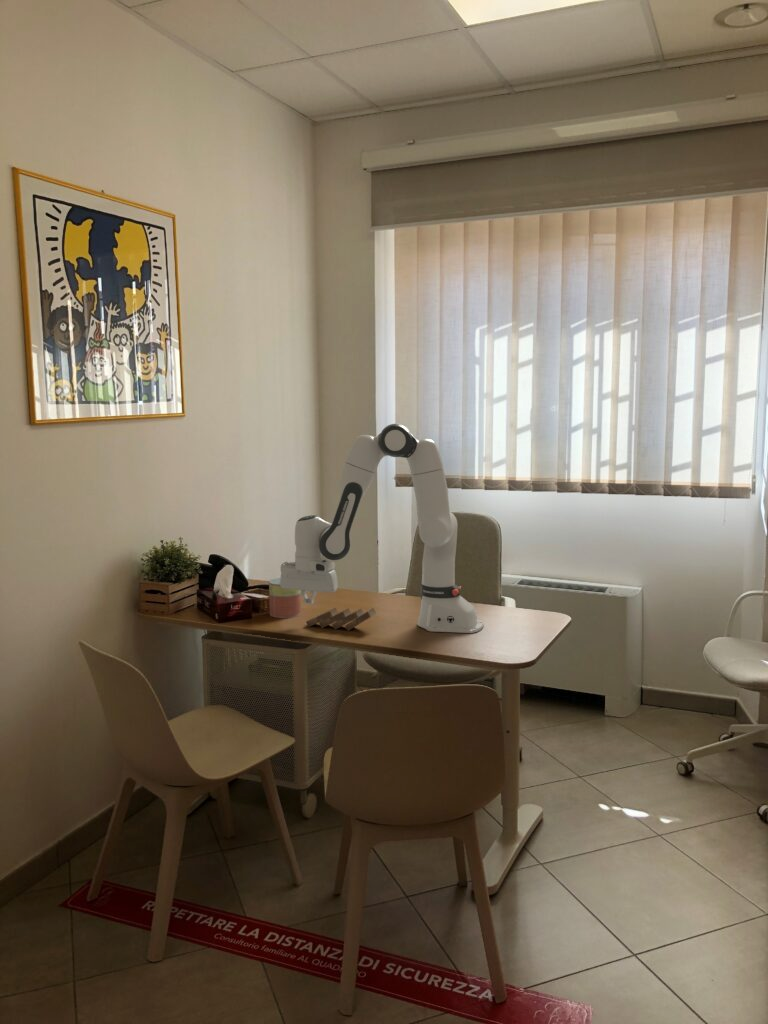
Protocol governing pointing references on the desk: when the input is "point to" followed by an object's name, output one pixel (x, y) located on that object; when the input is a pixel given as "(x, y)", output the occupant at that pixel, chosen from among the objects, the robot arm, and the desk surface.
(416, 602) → the desk surface
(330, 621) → the domino
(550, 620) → the desk surface
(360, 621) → the domino
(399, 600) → the desk surface
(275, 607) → the canned food
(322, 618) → the domino
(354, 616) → the domino
